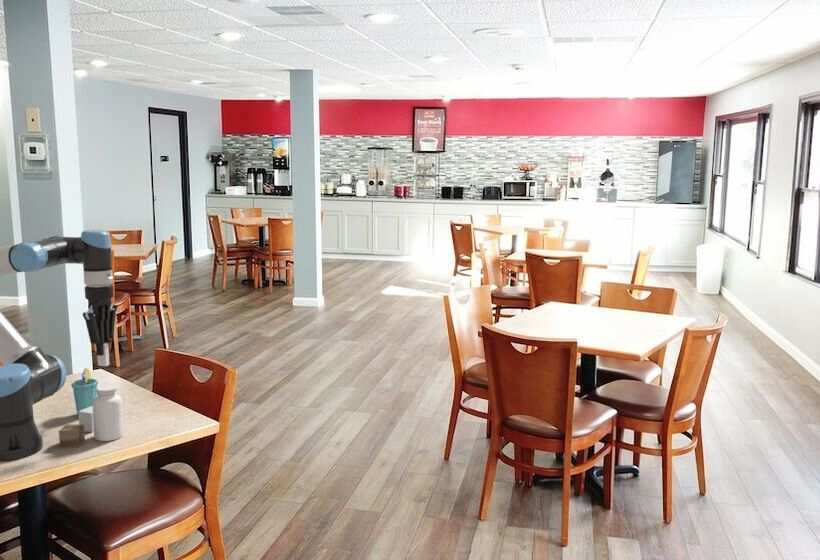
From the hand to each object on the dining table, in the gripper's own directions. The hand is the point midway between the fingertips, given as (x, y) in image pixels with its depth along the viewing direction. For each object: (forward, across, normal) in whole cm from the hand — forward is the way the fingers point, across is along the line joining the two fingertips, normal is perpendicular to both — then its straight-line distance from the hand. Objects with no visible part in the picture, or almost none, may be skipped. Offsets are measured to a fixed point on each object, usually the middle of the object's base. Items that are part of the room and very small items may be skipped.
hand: (103, 365), depth 212 cm
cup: (+22, +15, +18) cm, 32 cm away
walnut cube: (+22, -7, +6) cm, 24 cm away
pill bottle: (+22, 0, 0) cm, 22 cm away
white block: (+22, +5, +9) cm, 24 cm away
